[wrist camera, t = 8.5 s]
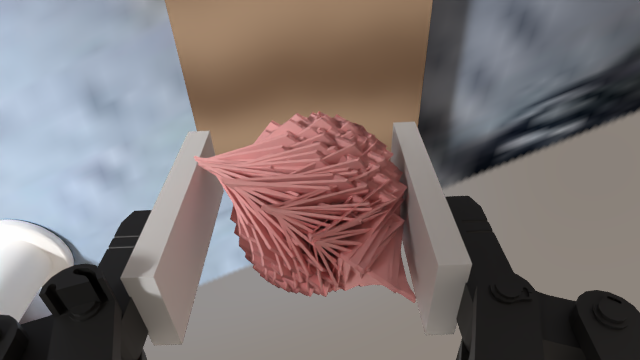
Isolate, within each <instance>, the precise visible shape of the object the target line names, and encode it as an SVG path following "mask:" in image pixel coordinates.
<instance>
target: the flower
mask: <svg viewBox="0 0 640 360" xmlns="http://www.w3.org/2000/svg"><path fill="white" fill-rule="evenodd" d="M386 147H387V146H386V145H385V144H384V143H382V142H381V141H379V139H377V138H375V135H373V134H371V133H368V132H367V131H366V130H365V128H364V127H363V126H362V125H358V124H357V123H352V122H350V121H348V120H346V119H344V118H342V117H341V116H339V115H337V114H336V115H335V117H334V118H331V117H330V116H328V115H327V114H324V113H322V112H320V111H318V113H317V114H316V113H314V112H312V113H311V114H310V116H309V117H308V118H307V117H304V116H302V115H300V114H298V113H296V114H295V115H294V116H293V117H292V118H290V119H289V120H288V121H286V122H285V123H284V124H282V125H280V124H278V123H277V122H275V121H273V120H272V121H271V122H270V123H269V125H268V126H267V127H266V128H265V130H264V131H263V132H262V133H261V135H260V136H259V137H258V138H257V140H256V141H255V142H254V144H252V145H249V146H246V147H243V148H239V149H236V150H233V151H229V152H226V153H223V154H219V155H216V156H213V157H210V158H201V157H197V156H194V158H195V161H197V162H198V165H199V166H200V167H202V168H204V169H205V170H207V171H209V172H210V173H212V174H214V175H215V176H216V177H217V178H218V180H219V181H220V183H221V184H222V186H223V188H224V189H225V191H226V192H227V194H228V196H229V197H230V199H231V200H232V202H233V210H232V214H231V218H230V219H231V220H232V221H233V222H235V223H236V227H235V231H234V233H235V234H236V235H238V236H239V237H240V238H239V246H240V247H241V248H242V249H243V250H244V251H245V252H246V255H245V258H246V259H247V260H249V261H250V262H251V263H252V264H254V266H253V268H254V269H255V270H256V271H257V272H259V273H260V276H262V277H263V278H265V280H266V281H268V282H270V283H271V284H272V285H275V286H277V287H278V288H280V287H281V288H283V289H284V290H286V291H287V292H294V293H298V292H300V293H302V294H304V295H306V296H311V295H312V293H313V292H314V293H316V294H318V295H319V294H321V295H323V296H325V297H326V296H327V294H328V292H331V291H332V290H334V291H337V290H339V289H343V290H345V291H346V290H348V289H351V288H353V287H355V286H358V285H359V286H368V285H383V286H385V287H387V288H388V289H390V290H391V291H393V292H394V293H396V292H398V293H399V294H401V295H403V296H404V297H406V298H407V299H409V300H410V301H412V302H413V303H415V301H416V300H415V299H416V296H415V295H414V293H413V292H412V290H411V289H410V287H409V285H408V282H407V279H406V275H405V271H404V266H403V262H402V258H401V244H402V235H403V226H404V221H405V220H404V219H402V218H401V217H400V207H401V203H402V202H403V201H404V199H403V198H402V197H403V195H404V191H405V190H406V189H407V186H405V185H404V184H402V183H401V182H400V181H399V180H400V178H401V176H402V174H403V172H402V171H400V170H399V169H398V167H397V166H395V165H394V163H392V162H391V161H389V159H390V158H391V157H392V156H393V153H392V152H390V151H388V150H386Z"/></svg>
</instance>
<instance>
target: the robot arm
mask: <svg viewBox="0 0 640 360" xmlns="http://www.w3.org/2000/svg"><path fill="white" fill-rule="evenodd" d="M391 152H392V153H393V156H392V157H391V162H392V163H394V165H395V166H397V167H398V169H399V170H400V171H402V172H403V174H402V176H401V178H400V180H399V181H400V182H401V183H402V184H404V185H405V186H407V189H406V190H405V191H404V195H403V197H402V198H403V199H404V201H403V202H402V203H401V207H400V217H401V218H402V219H404V220H405V221H404V226H403V235H402V241H403V245H404V249H405V253H406V257H407V262H408V266H409V270H410V274H411V278H412V282H413V286H414V291H415V295H416V299H417V303H418V307H419V311H420V315H421V320H422V324H423V328H424V332H425V335H444V334H454V332H455V328H456V324H457V323H458V326H459V329H460V332H461V335H462V341H461V344H460V348H459V351H458V355H457V358H456V360H640V313H639V311H638V310H637V309H636V308H635V307H634V306H633V305H632V304H630V303H629V302H627V301H626V300H625V299H623V298H621V297H619V296H617V295H614V294H612V293H609V292H604V291H599V290H594V291H586V292H585V293H583V294H582V295H580V296H579V297H578V299H577V301H572V300H567V299H563V298H558V297H554V296H549V295H546V294H543V293H539V292H537V291H535V289H534V288H533V287H532V286H531V285H530V284H529V282H528V281H527V280H525V279H523V278H522V277H520V276H519V275H517V274H515V273H514V272H513V270H512V268H511V266H510V264H509V262H508V260H507V258H506V256H505V254H504V252H503V251H502V248H501V246H500V244H499V242H498V240H497V238H496V236H495V234H494V233H493V232H492V228H491V226H490V224H489V222H487V218H486V216H485V214H484V212H483V210H482V208H481V206H480V205H478V204H477V203H476V202H475V201H474V200H473V199H472V198H470V197H469V196H452V197H445V195H444V193H443V190H442V188H441V185H440V183H439V180H438V178H437V175H436V173H435V170H434V168H433V165H432V163H431V160H430V158H429V155H428V153H427V150H426V148H425V146H424V143H423V141H422V138H421V136H420V133H419V131H418V128H417V126H416V123H415V122H395V123H393V133H392V147H391ZM194 156H197V157H201V158H210V157H213V156H215V151H214V147H213V143H212V138H211V134H210V131H192V132H188V134H187V136H186V138H185V140H184V142H183V144H182V147H181V149H180V151H179V153H178V155H177V157H176V159H175V162H174V164H173V166H172V168H171V170H170V172H169V174H168V177H167V179H166V181H165V183H164V185H163V187H162V190H161V192H160V194H159V196H158V198H157V200H156V202H155V205H154V207H153V209H152V210H144V211H134V212H133V213H131V214H130V215H129V216H128V217H127V218H126V219H125V220H124V221H123V222H122V223H121V224H120V226H119V228H118V230H117V232H116V234H115V238H113V239H112V241H111V243H110V245H109V249H107V251H106V253H105V254H104V256H103V258H102V260H101V262H100V264H99V266H98V267H97V266H95V265H90V264H80V265H74V266H71V267H69V268H66V269H64V270H62V271H60V272H59V273H57V274H55V275H54V276H52V277H51V278H50V279H49V280H48V281H47V282H46V283H45V284H44V286H43V287H42V289H41V292H40V294H39V296H40V297H41V299H42V300H43V302H44V303H45V304H46V306H47V307H48V309H49V310H50V312H51V313H52V314H53V315H50V316H48V317H44V318H41V319H38V320H34V321H31V322H28V323H24V324H21V325H20V324H19V323H18V322H17V320H16V319H14V318H13V317H11V316H10V315H0V360H147V358H146V355H145V352H144V350H143V346H144V343H145V340H146V337H147V335H149V337H150V339H151V341H152V343H153V345H177V344H178V345H180V344H182V343H183V339H184V336H185V332H186V328H187V324H188V321H189V317H190V314H191V310H192V306H193V303H194V299H195V295H196V291H197V288H198V284H199V280H200V277H201V273H202V269H203V266H204V262H205V258H206V255H207V251H208V247H209V244H210V240H211V236H212V233H213V229H214V225H215V221H216V218H217V214H218V210H219V207H220V203H221V199H222V196H223V192H224V190H223V186H222V184H221V183H220V181H219V180H218V178H217V177H216V176H215V175H214V174H212V173H210V172H209V171H207V170H205V169H204V168H202V167H200V166H199V165H198V162H197V161H195V158H194Z"/></svg>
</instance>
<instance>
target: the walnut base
mask: <svg viewBox="0 0 640 360" xmlns="http://www.w3.org/2000/svg"><path fill="white" fill-rule="evenodd" d="M432 2H433V0H165V3H166V7H167V11H168V15H169V19H170V23H171V27H172V31H173V35H174V39H175V43H176V47H177V52H178V56H179V60H180V64H181V68H182V72H183V76H184V80H185V84H186V88H187V92H188V96H189V100H190V104H191V108H192V112H193V116H194V120H195V124H196V129H197V131H210V134H211V138H212V143H213V147H214V151H215V156H216V155H219V154H223V153H226V152H229V151H233V150H236V149H239V148H243V147H246V146H249V145H252V144H254V142H255V141H256V140H257V138H258V137H259V136H260V135H261V133H262V132H263V131H264V130H265V128H266V127H267V126H268V125H269V123H270V122H271V121H272V120H273V121H275V122H277V123H278V124H280V125H282V124H284V123H285V122H286V121H288V120H289V119H290V118H292V117H293V116H294V115H295V114H296V113H298V114H300V115H302V116H304V117H307V118H308V117H309V116H310V114H311V113H312V112H314V113H316V114H317V113H318V111H320V112H322V113H324V114H327V115H328V116H330V117H331V118H334V117H335V115H336V114H337V115H339V116H341V117H342V118H344V119H346V120H348V121H350V122H352V123H357V124H358V125H362V126H363V127H364V128H365V130H366V131H367V132H368V133H371V134H373V135H375V138H377V139H379V141H381V142H382V143H384V144H385V145H386V146H387V147H386V150H388V151H390V152H391V147H392V133H393V123H395V122H415V123H416V126H417V128H418V120H419V112H420V103H421V95H422V86H423V78H424V70H425V61H426V53H427V44H428V36H429V28H430V19H431V11H432ZM389 161H391V158H390V159H389Z"/></svg>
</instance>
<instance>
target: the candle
mask: <svg viewBox="0 0 640 360" xmlns="http://www.w3.org/2000/svg"><path fill="white" fill-rule="evenodd" d="M73 265H74V259H73V255H72V253H71V251H70V249H69V248H68V246H67V245H66V244H65V243H64V242H63V241H62V240H61V239H60V238H59V237H58V236H56V235H55V234H53V233H52V232H50V231H48V230H47V229H44V228H42V227H40V226H38V225H35V224H32V223H29V222H25V221H20V220H9V219H6V220H0V315H10V316H11V317H13V318H14V319H16V320H17V322H19V321H20V319H21V317H22V316H23V314H24V313H25V311H26V310H27V308H28V306H29V305H30V303H31V302H32V300H33V299H34V297H35V295H36V294H37V292H38V291H39V289H40V288H41V287H43V286H44V284H45V283H46V282H47V281H48V280H49V279H50V278H51V277H52V276H54V275H55V274H57V273H59V272H60V271H62V270H64V269H66V268H69V267H71V266H73Z"/></svg>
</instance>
